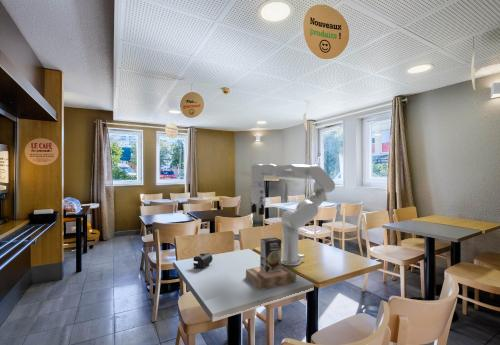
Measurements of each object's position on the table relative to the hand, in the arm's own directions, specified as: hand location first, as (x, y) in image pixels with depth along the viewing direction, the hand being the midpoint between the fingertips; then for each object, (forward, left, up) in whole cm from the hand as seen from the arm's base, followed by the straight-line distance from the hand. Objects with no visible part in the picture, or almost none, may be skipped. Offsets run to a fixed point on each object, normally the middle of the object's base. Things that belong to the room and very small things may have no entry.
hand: (257, 213), depth 149 cm
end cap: (+30, -11, -31) cm, 44 cm away
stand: (+4, +22, -30) cm, 38 cm away
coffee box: (+4, +22, -26) cm, 34 cm away
